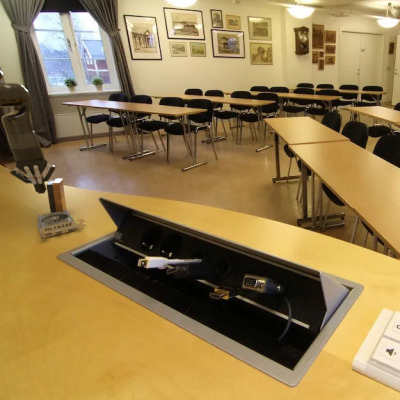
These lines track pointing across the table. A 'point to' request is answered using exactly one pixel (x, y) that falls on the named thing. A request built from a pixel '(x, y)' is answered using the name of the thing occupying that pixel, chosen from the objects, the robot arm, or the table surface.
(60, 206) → the brush
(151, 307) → the table surface
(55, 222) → the graphics card
